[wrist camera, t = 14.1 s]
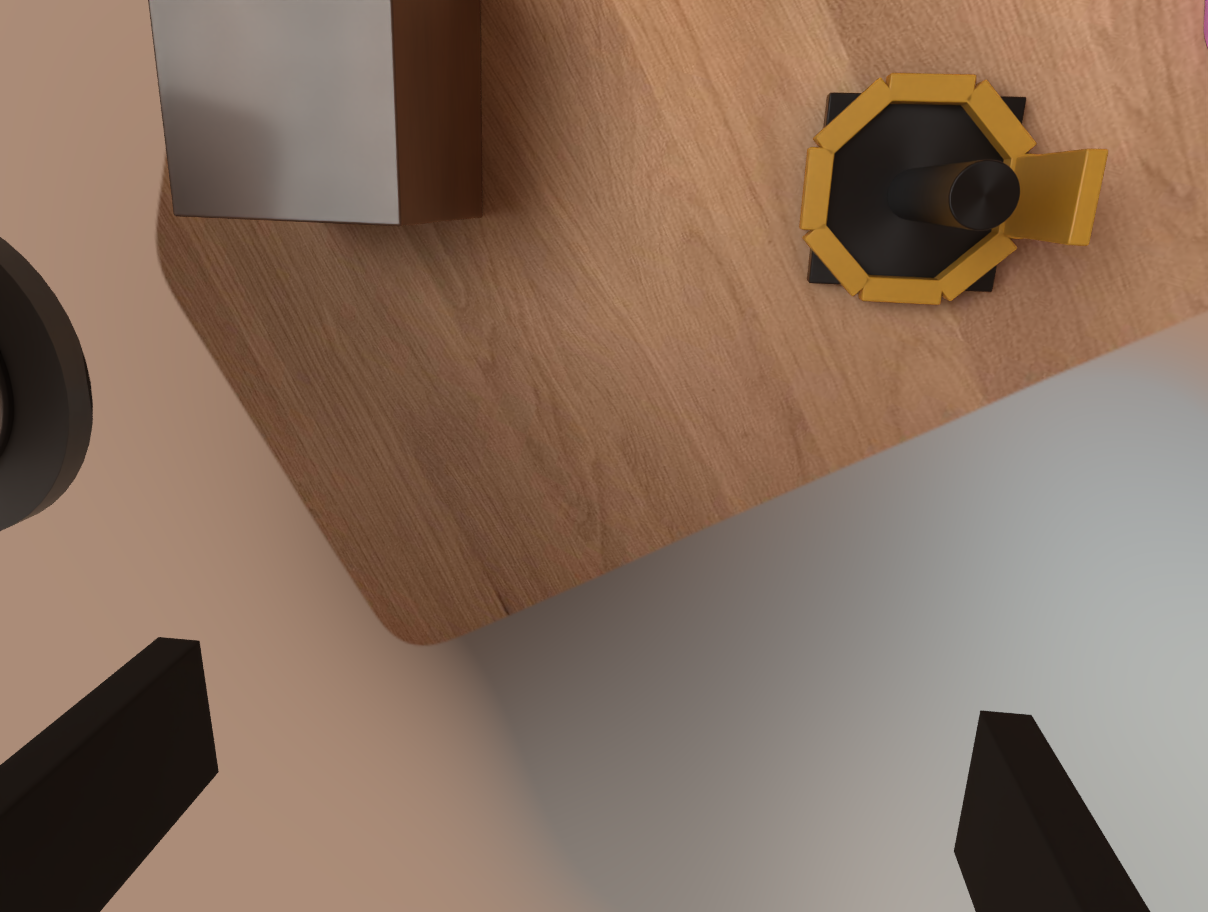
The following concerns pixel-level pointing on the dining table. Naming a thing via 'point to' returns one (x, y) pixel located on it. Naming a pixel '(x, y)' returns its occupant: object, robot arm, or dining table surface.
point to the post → (916, 190)
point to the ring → (1047, 181)
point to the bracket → (1206, 22)
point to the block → (321, 109)
